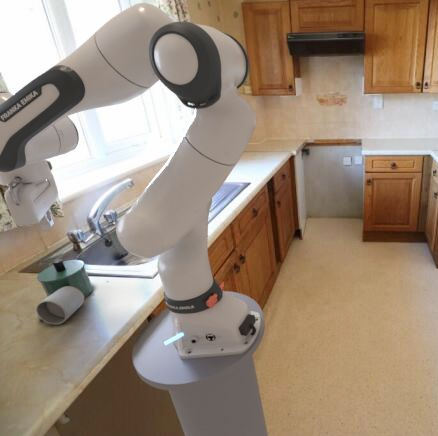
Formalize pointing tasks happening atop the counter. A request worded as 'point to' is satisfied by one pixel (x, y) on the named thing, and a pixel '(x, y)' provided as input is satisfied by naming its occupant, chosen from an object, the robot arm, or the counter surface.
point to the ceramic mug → (60, 305)
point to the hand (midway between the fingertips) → (48, 228)
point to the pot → (71, 284)
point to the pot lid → (60, 270)
